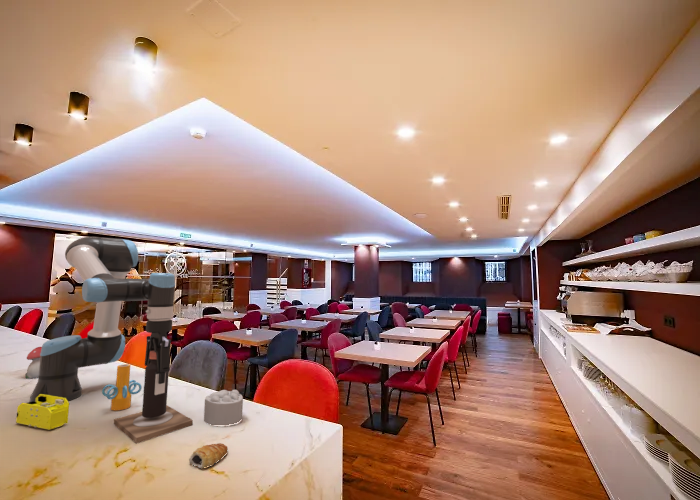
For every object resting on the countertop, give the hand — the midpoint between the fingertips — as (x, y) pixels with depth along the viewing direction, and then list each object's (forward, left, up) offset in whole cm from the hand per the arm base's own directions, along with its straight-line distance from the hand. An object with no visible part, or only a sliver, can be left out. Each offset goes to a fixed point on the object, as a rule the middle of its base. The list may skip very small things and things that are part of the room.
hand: (155, 391), depth 107 cm
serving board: (0, 0, -10) cm, 10 cm away
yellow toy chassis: (-26, -23, -11) cm, 37 cm away
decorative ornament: (-100, -15, -11) cm, 102 cm away
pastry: (+34, +1, -11) cm, 36 cm away
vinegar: (0, 0, -7) cm, 7 cm away
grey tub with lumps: (+14, +17, -11) cm, 25 cm away
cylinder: (-24, -2, -11) cm, 26 cm away
